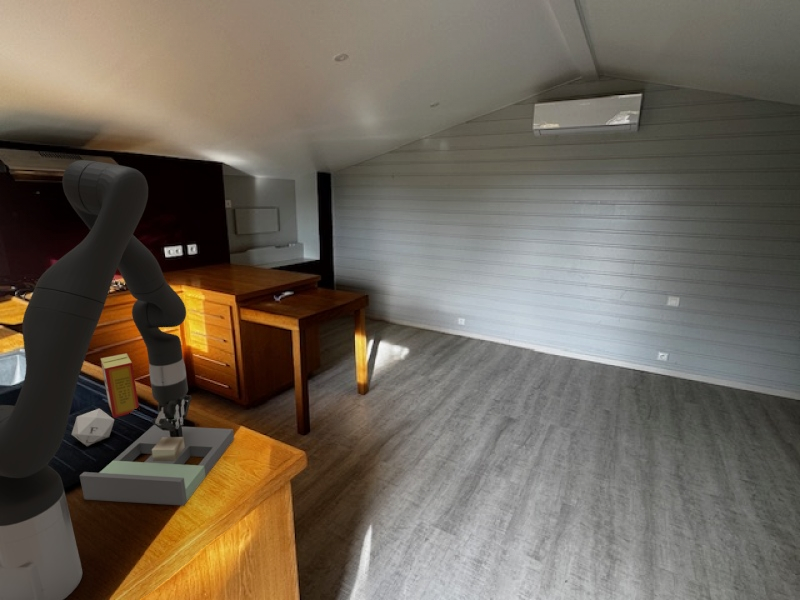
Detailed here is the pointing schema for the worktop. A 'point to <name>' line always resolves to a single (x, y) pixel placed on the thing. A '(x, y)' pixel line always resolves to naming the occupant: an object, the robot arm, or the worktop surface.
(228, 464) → the worktop surface
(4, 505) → the robot arm
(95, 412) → the die
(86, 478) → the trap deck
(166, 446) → the birch block
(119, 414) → the baking soda box
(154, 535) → the worktop surface
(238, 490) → the worktop surface
